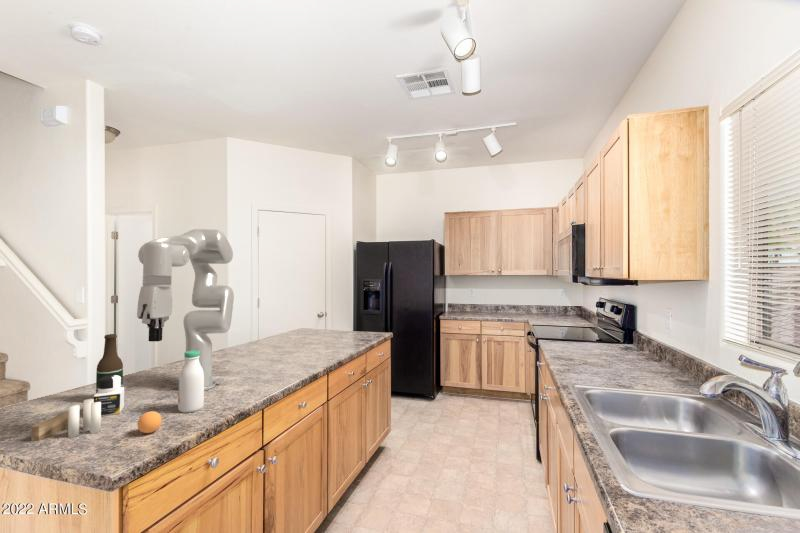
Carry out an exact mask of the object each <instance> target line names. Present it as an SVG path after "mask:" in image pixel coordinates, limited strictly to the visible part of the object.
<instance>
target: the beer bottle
mask: <svg viewBox="0 0 800 533" xmlns="http://www.w3.org/2000/svg"><path fill="white" fill-rule="evenodd" d="M117 337H118V334H114V333H109V334H105V335H104V348H103V355H102V358H100V360H99V361H98V363H97V365H96V373H95V374H96V375H95V377H96V380H95V381H96V382H95V384H96V385H95V394H96V393H97V392H98V380H99V379H100V378H102V377H105V376H110V375H118V376H120V377H121V387H124V382H123V381H124V363H123V360H122V359H121V358H120V357H119V356H118V351H117V350H118V349H117Z"/></svg>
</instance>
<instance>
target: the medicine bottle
mask: <svg viewBox="0 0 800 533" xmlns="http://www.w3.org/2000/svg"><path fill="white" fill-rule="evenodd" d="M93 399H94V402H101V417H105V416H104V415H107V416H113V415H112V414H114V415H120V414H121V412H122V410H123V409H124V407H125V387H124V386H123V387H121V377H120V376H118V375H110V376H105V377H102V378H100V379H99V380H98V392H97V393H96V392H95V394H94V395H93ZM119 413H120V414H119Z"/></svg>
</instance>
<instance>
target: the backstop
mask: <svg viewBox="0 0 800 533" xmlns="http://www.w3.org/2000/svg"><path fill="white" fill-rule="evenodd" d="M68 415H69V410H67V411H65V412H63V413H61V414H57V415H55V416H53V417H50V418H48V419H46V420H43V421H42V422H39V423H37V424H35V425H33V426H31V441H33V442H39V441H41V440H43V439H45V438H48V437H50V436H53V434H56V433H58V432H60V431H62V430H64V429H68Z"/></svg>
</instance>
